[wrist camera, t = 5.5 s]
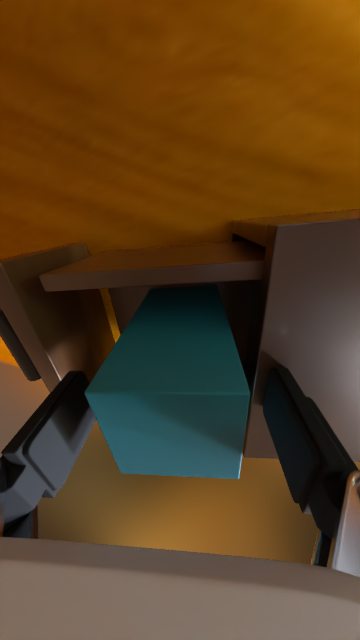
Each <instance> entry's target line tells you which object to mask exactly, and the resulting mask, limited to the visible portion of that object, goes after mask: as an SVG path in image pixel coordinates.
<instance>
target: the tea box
mask: <svg viewBox="0 0 360 640" xmlns="http://www.w3.org/2000/svg"><path fill="white" fill-rule="evenodd" d="M85 396H86V398H87V400H88V403H89V405H90V407H91V409H92V411H93V413H94V416H95V418H96V420H97V422H98V424H99V426H100V429H101V431H102V433H103V435H104V437H105V440H106V442H107V444H108V446H109V448H110V450H111V453H112V455H113V457H114V459H115V461H116V464H117V466H118V468H119V470H120V472H121V473H128V474H149V475H169V476H188V477H209V478H229V479H239V475H240V467H241V459H242V452H243V445H244V437H245V430H246V422H247V415H248V407H249V400H250V391H249V387H248V384H247V381H246V378H245V374H244V371H243V368H242V365H241V361H240V358H239V355H238V351H237V348H236V345H235V342H234V338H233V335H232V332H231V329H230V325H229V322H228V319H227V315H226V312H225V309H224V306H223V302H222V299H221V296H220V293H219V289H218V286H217V285H215V286H197V287H179V288H160V289H150V290H149V292H148V293H147V295H146V296H145V298H144V300H143V301H142V303H141V304H140V306H139V307H138V309H137V311H136V312H135V314H134V315H133V317H132V318H131V320H130V322H129V323H128V325H127V326H126V328H125V329H124V331H123V333H122V334H121V336H120V337H119V339H118V340H117V342H116V344H115V345H114V347H113V348H112V350H111V351H110V353H109V355H108V356H107V358H106V359H105V361H104V362H103V364H102V366H101V367H100V369H99V370H98V372H97V373H96V375H95V377H94V378H93V380H92V381H91V383H90V384H89V386H88V388H87V389H86V391H85Z"/></svg>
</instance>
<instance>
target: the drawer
mask: <svg viewBox="0 0 360 640" xmlns="http://www.w3.org/2000/svg"><path fill="white" fill-rule="evenodd" d="M265 252H266V247H263V246H261V245H259V244H257V243H254V242H252V241H250V240H244V241H231V242H218V243H205V244H193V245H180V246H167V247H154V248H141V249H128V250H116V251H103V252H101V253H98V254H95V255H92V256H89V253H88V250H87V246H86V243H73V244H68V245H63V246H58V247H54V248H49V249H45V250H40V251H35V252H31V253H26V254H21V255H17V256H12V257H8V258H3V259H0V336H1V338H2V339H3V341H4V342H5V344H6V346H7V347H8V349H9V350H10V352H11V354H12V355H13V357H14V358H15V360H16V362H17V363H18V365H19V366H20V368H21V370H22V371H23V373H24V374H25V376H26V377H27V379H28V380H29V381H36V380H38V379H40V378H42V380H43V381H44V383H45V385H46V387H47V388H48V390H49V392H50V393H51V392H52V391H53V389H54V388H55V387H56V386H57V385H58V383H59V382H60V381H61V380H62V379H63V377H64V376H65V375H66V374H67V373H68V372H69V371H83V373H85V374H86V375H87V378H88V380H89V383H91V381H92V380H93V378H94V377H95V375H96V373H97V372H98V370H99V369H100V367H101V366H102V364H103V362H104V361H105V359H106V358H107V356H108V355H109V353H110V351H111V350H112V348H113V347H114V345H115V341H114V338H113V334H112V331H111V327H110V324H109V321H108V317H107V314H106V311H105V307H104V304H103V300H102V297H101V294H100V290H99V289H103V288H108V290H109V294H110V297H111V301H112V305H113V308H114V312H115V316H116V319H117V323H118V327H119V330H120V334H122V333H123V331H124V329H125V328H126V326H127V325H128V323H129V322H130V320H131V318H132V317H133V315H134V314H135V312H136V311H137V309H138V307H139V306H140V304H141V303H142V301H143V300H144V298H145V296H146V295H147V293H148V292H149V290H150V289H160V288H179V287H197V286H215V285H217V286H218V289H219V293H220V296H221V299H222V302H223V306H224V309H225V312H226V315H227V319H228V322H229V325H230V329H231V332H232V335H233V338H234V342H235V345H236V348H237V351H238V355H239V358H240V361H241V365H242V368H243V371H244V374H245V378H246V381H247V384H248V387H249V381H250V373H251V365H252V357H253V349H254V341H255V333H256V324H257V316H258V308H259V300H260V292H261V284H262V276H263V268H264V260H265Z"/></svg>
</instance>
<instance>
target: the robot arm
mask: <svg viewBox="0 0 360 640" xmlns="http://www.w3.org/2000/svg"><path fill="white" fill-rule="evenodd" d="M89 384H90V383H89V380H88V378H87V375H86V374H85V373H83V371H69V372H68V373H67V374H66V375H65V376H64V377H63V379H62V380H61V381H60V382H59V383H58V385H57V386H56V387H55V388H54V389H53V391H52V392H51V393H50V394H49V395H48V397H47V398H46V399H45V400H44V402H43V403H42V404H41V405H40V406H39V408H38V409H37V410H36V411H35V412H34V413H33V415H32V416H31V417H30V418H29V419H28V421H27V422H26V423H25V424H24V426H23V427H22V428H21V429H20V430H19V432H18V433H17V434H16V435H15V436H14V438H13V439H12V440H11V441H10V442H9V444H8V445H7V446H6V447H5V448H4V449H3V451H2V452H1V453H2V454H3V455H2V457H1V458H0V640H360V470H358V468H357V467H356V465H355V463H354V462H353V460H352V459H351V457H350V456H349V454H348V453H347V451H346V450H345V448H344V446H343V445H342V443H341V442H340V440H339V439H338V437H337V436H336V434H335V433H334V431H333V429H332V428H331V426H330V425H329V423H328V422H327V420H326V419H325V417H324V416H323V414H322V413H321V411H320V409H319V408H318V406H317V405H316V403H315V402H314V401H313V399H312V398H310V397H306V396H305V395H304V393H303V391H302V390H301V388H300V386H299V385H298V383H297V382H296V380H295V378H294V377H293V375H292V374H291V372H290V370H289V369H288V368H274V369H273V371H270V372H269V376H268V382H267V387H266V393H265V399H264V404H263V414H264V417H265V420H266V423H267V426H268V429H269V432H270V435H271V438H272V440H273V443H274V446H275V449H276V452H277V455H278V458H279V461H280V464H281V466H282V469H283V472H284V475H285V478H286V481H287V484H288V487H289V490H290V492H291V495H292V498H293V500H294V502H295V503H299V505H300V508H301V511H302V513H308V514H312V515H313V518H314V520H315V523H316V526H317V527H318V528H319V531H318V535H317V539H316V544H315V548H314V552H313V556H312V560H311V564H304V563H296V562H288V561H279V560H270V559H261V558H252V557H242V556H230V555H219V554H209V553H197V552H187V551H186V552H185V551H176V550H163V549H152V548H140V547H129V546H117V545H106V544H94V543H81V542H68V541H56V540H43V539H38V511H37V503H38V502H39V500H40V498H41V496H42V497H46V498H54V497H55V495H56V493H57V491H58V490H59V489H61V488H62V486H63V485H64V483H65V481H66V479H67V477H68V475H69V473H70V471H71V469H72V467H73V465H74V463H75V461H76V459H77V457H78V455H79V453H80V451H81V449H82V447H83V444H84V443H85V441H86V439H87V437H88V435H89V433H90V431H91V429H92V427H93V425H94V423H95V420H96V418H95V416H94V413H93V411H92V409H91V407H90V405H89V403H88V400H87V398H86V396H85V391H86V389H87V388H88V386H89Z"/></svg>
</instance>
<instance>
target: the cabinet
mask: <svg viewBox="0 0 360 640" xmlns="http://www.w3.org/2000/svg"><path fill="white" fill-rule="evenodd" d="M244 240H250V241H252V242H254V243H257V244H259V245H261V246H263V247H266V252H265V260H264V268H263V276H262V284H261V292H260V300H259V308H258V316H257V324H256V333H255V341H254V349H253V357H252V365H251V373H250V381H249V391H250V400H249V407H248V415H247V422H246V430H245V437H244V445H243V455H244V457H250V458H251V457H252V458H277V459H279V458H278V455H277V452H276V449H275V446H274V443H273V440H272V438H271V435H270V432H269V429H268V426H267V423H266V420H265V417H264V414H263V404H264V399H265V393H266V387H267V382H268V376H269V372H270V371H273V369H274V368H288V369H289V370H290V372H291V374H292V375H293V377H294V378H295V380H296V382H297V383H298V385H299V386H300V388H301V390H302V391H303V393H304V395H305V396H306V397H310V398H312V399H313V401H314V402H315V403H316V405H317V406H318V408H319V409H320V411H321V413H322V414H323V416H324V417H325V419H326V420H327V422H328V423H329V425H330V426H331V428H332V429H333V431H334V433H335V434H336V436H337V437H338V439H339V440H340V442H341V443H342V445H343V446H344V448H345V450H346V451H347V453H348V454H349V456H350V457H351V459H352V460H353V462H360V209H352V210H341V211H330V212H319V213H308V214H296V215H285V216H274V217H263V218H252V219H240V220H232V221H231V230H230V242H231V241H244Z"/></svg>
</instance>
